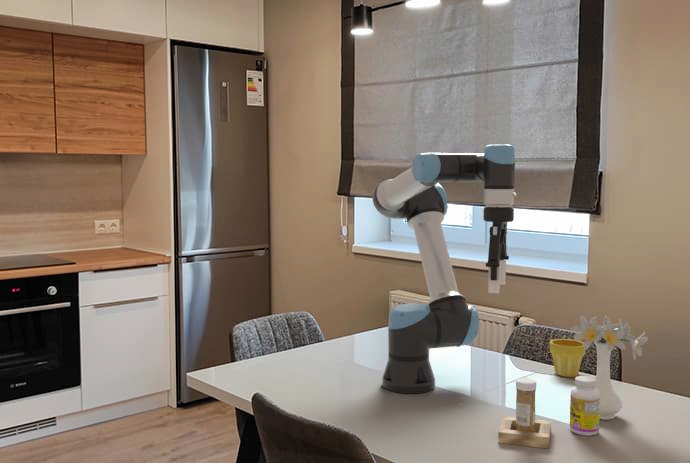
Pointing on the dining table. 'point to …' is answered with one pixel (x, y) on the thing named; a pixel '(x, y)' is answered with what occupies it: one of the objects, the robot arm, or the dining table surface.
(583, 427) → the supplement bottle
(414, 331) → the robot arm
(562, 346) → the plant pot
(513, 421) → the socket block
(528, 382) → the sprinkles bottle
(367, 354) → the dining table surface
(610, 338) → the flower vase
